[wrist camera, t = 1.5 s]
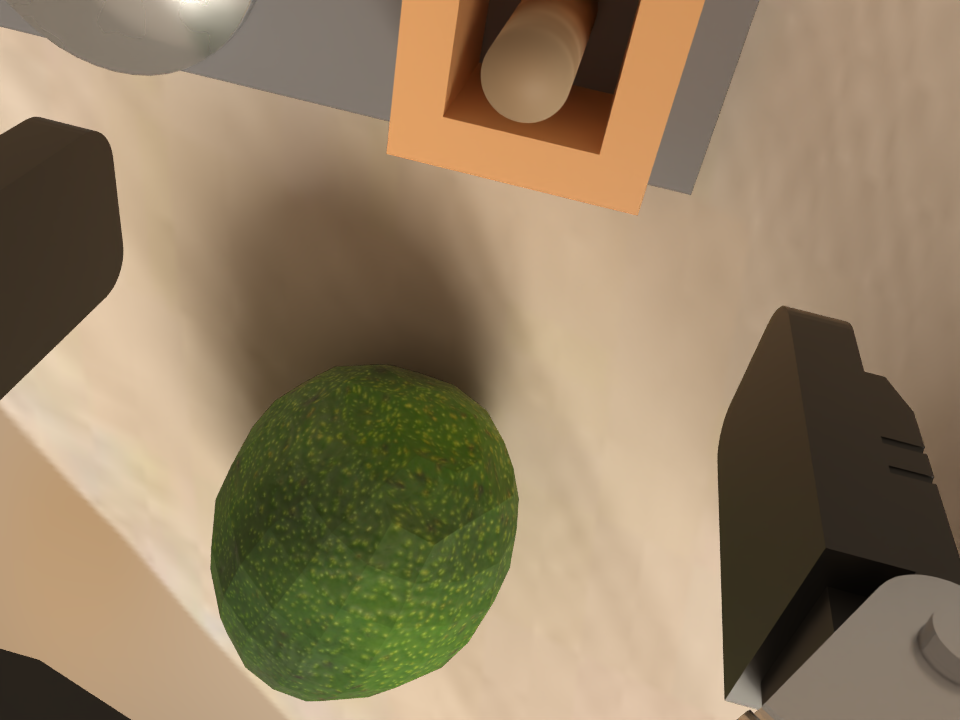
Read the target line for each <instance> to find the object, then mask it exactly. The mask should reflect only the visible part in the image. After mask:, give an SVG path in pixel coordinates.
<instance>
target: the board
mask: <svg viewBox="0 0 960 720" xmlns="http://www.w3.org/2000/svg"><path fill="white" fill-rule="evenodd" d="M638 1H639V0H598V12H597V17H596V20H595V23H594V25H593V28H592V31H591V34H590V37H589V39H588V42H587V45H586V48H585V51H584V53H583V56H582V59H581V62H580V65H579V67H578V70H577V73H576V76H575V79H574V81H573V84H572V85H575V86H580V87H584V88H588V89H592V90H596V91H601V92H605V93H609V94H613V95H614V91H615V87H616V84H617V80H618V76H619V72H620V69H621V65H622V61H623V57H624V54H625V50H626V46H627V42H628V39H629V35H630V31H631V28H632V24H633V20H634V16H635V13H636V9H637V5H638ZM520 2H521V0H489V5H488V12H487V18H486V24H485V30H484V36H483V42H482V48H481V54H480V61H479V63H483V60H484V57H485V55H486V53H487V51H488V50H489V48H490V47H491V45H492V44H493V42H494V41H495V39H496V38H497V36H498V35H499V33H500V32H501V30H502V29H503V27H504V26H505V24H506V23H507V21H508V20H509V18H510V17H511V15H512V14H513V12H514V11H515V9H516V8H517V6H518V5H519V3H520ZM758 3H759V0H705V2H704V5H703V9H702V12H701V15H700V18H699V21H698V25H697V28H696V31H695V34H694V37H693V40H692V44H691V47H690V50H689V53H688V56H687V60H686V63H685V66H684V69H683V72H682V76H681V79H680V82H679V85H678V88H677V91H676V95H675V98H674V101H673V104H672V107H671V111H670V114H669V117H668V120H667V123H666V126H665V130H664V133H663V136H662V139H661V142H660V146H659V149H658V152H657V155H656V158H655V161H654V165H653V168H652V171H651V174H650V177H649V181H648V185H652V186H656V187H660V188H664V189H668V190H673V191H677V192H681V193H685V194H689V195H691V193H692V190H693V188H694V185H695V182H696V179H697V176H698V173H699V171H700V168H701V165H702V162H703V159H704V156H705V154H706V151H707V148H708V145H709V142H710V139H711V136H712V134H713V131H714V128H715V125H716V122H717V119H718V117H719V114H720V111H721V108H722V105H723V102H724V100H725V97H726V94H727V91H728V88H729V85H730V83H731V80H732V77H733V74H734V71H735V68H736V65H737V63H738V60H739V57H740V54H741V51H742V48H743V46H744V43H745V40H746V37H747V34H748V31H749V29H750V26H751V23H752V20H753V17H754V14H755V12H756V9H757V6H758ZM401 7H402V0H256V2H255V4H254V6H253V8H252V10H251V12H250V14H249V15H248V17H247V19H246V21H245V22H244V23H243V25H242V26H241V28H240V29H239V30H238V32H237V33H236V34H235V35H234V36H233V37H232V38H231V39H230V40H229V41H228V42H227V43H226V44H225V45H224V46H223V47H222V48H220V49H219V50H217V51H216V52H215V53H213V54H212V55H210V56H209V57H207V58H206V59H204V60H203V61H201V62H199V63H197V64H195V65H193V66H191V67H189V68H186V69H183V70H180V71H184V72H189V73H193V74H197V75H201V76H205V77H209V78H213V79H217V80H221V81H226V82H230V83H234V84H238V85H242V86H246V87H250V88H254V89H258V90H262V91H267V92H271V93H275V94H279V95H283V96H287V97H291V98H295V99H299V100H303V101H308V102H312V103H316V104H320V105H324V106H328V107H332V108H336V109H340V110H344V111H349V112H353V113H357V114H361V115H365V116H369V117H373V118H377V119H381V120H385V121H390V115H391V105H392V95H393V86H394V76H395V66H396V56H397V46H398V37H399V27H400V17H401ZM0 27H4V28H8V29H12V30H16V31H20V32H25V33H29V34H33V35H37V36H41V37H44V36H43V35H42V34H40V33H39V32H38V31H37V30H36V29H34V28H33V27H32V26H31V25H30V24H29V23H27V22H26V21H25V20H24V19H23V18H22V17H21V16H20V15H19V14H18V13H17V12H16V11H15V10H14V9H13V8H12V7H11V6H10V5H9V4H8V3H7V2H6V0H0ZM45 38H46V37H45Z"/></svg>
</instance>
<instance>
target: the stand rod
mask: <svg viewBox="0 0 960 720" xmlns="http://www.w3.org/2000/svg"><path fill="white" fill-rule="evenodd" d="M597 12H598V0H521V2H520V3H519V5H518V6H517V8H516V9H515V11H514V12H513V14H512V15H511V17H510V18H509V20H508V21H507V23H506V24H505V26H504V27H503V29H502V30H501V32H500V33H499V35H498V36H497V38H496V39H495V41H494V42H493V44H492V45H491V47H490V48H489V50H488V51H487V53H486V55H485V57H484V60H483V63H482V67H481V83H482V88H483V91H484V94H485V96H486V98H487V100H488V101H489V103H490V104H491V105H492V107H493V108H494V109H495V110H496V111H497V112H499V113H500V114H501V115H503V116H504V117H506V118H508V119H510V120H513V121H516V122H521V123H535V122H539V121H542V120H545V119H547V118H549V117H551V116H552V115H554V114H555V113H556V112H557V111H558V110H559V109H560V108H561V107H562V106H563V104H564V103H565V101H566V100H567V97H568V95H569V92H570V90H571V87H572V84H573V81H574V79H575V76H576V73H577V70H578V67H579V65H580V62H581V59H582V56H583V53H584V51H585V48H586V45H587V42H588V39H589V37H590V34H591V31H592V28H593V25H594V23H595V20H596V17H597Z"/></svg>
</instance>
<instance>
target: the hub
mask: <svg viewBox="0 0 960 720" xmlns="http://www.w3.org/2000/svg"><path fill="white" fill-rule="evenodd" d="M6 2H7V3H8V4H9V5H10V6H11V7H12V8H13V9H14V10H15V11H16V12H17V13H18V14H19V15H20V16H21V17H22V18H23V19H24V20H25V21H26V22H27V23H29V24H30V25H31V26H32V27H33V28H34V29H36V30H37V31H38V32H39V33H40V34H42V35H43V36H44V37H46V38H47V39H48V40H50V41H51V42H53V43H54V44H55V45H57V46H58V47H60V48H62V49H63V50H65V51H67V52H69V53H70V54H72V55H74V56H76V57H77V58H80V59H82V60H84V61H86V62H89V63H91V64H93V65H95V66H98V67H102V68H105V69H108V70H111V71H115V72H120V73H126V74H131V75H160V74H169V73H173V72H176V71H180V70H183V69H186V68H189V67H191V66H193V65H195V64H197V63H199V62H201V61H203V60H204V59H206V58H207V57H209V56H210V55H212V54H213V53H215V52H216V51H217V50H219V49H220V48H222V47H223V46H224V45H225V44H226V43H227V42H228V41H229V40H230V39H231V38H232V37H233V36H234V35H235V34H236V33H237V32H238V30H239V29H240V28H241V26H242V25H243V23H244V22H245V21H246V19H247V17H248V15H249V14H250V12H251V10H252V8H253V6H254V4H255V2H256V0H6Z"/></svg>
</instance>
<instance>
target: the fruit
mask: <svg viewBox="0 0 960 720" xmlns="http://www.w3.org/2000/svg"><path fill="white" fill-rule="evenodd" d="M518 501H519V498H518V492H517V486H516V481H515V475H514V469H513V466H512V463H511V460H510V457H509V454H508V452H507V449H506V446H505V443H504V441H503V439H502V437H501V435H500V434H499V432H498V430H497V428H496V426H495V425H494V423H493V421H492V419H491V417H490V416H489V414H488V412H487V410H485V409H484V408H483V407H481V406H480V405H479V404H478V403H476V402H475V401H474V400H472V399H471V398H470V397H469V396H467V395H466V394H465V393H463V392H462V391H461V390H459V389H458V388H457V387H456V386H454V385H453V384H450V383H447V382H444V381H441V380H438V379H435V378H432V377H429V376H427V375H424V374H421V373H417V372H414V371H410V370H407V369H403V368H400V367H396V366H393V365H358V366H337V367H334V368H332V369H330V370H328V371H326V372H324V373H322V374H320V375H318V376H316V377H314V378H312V379H310V380H308V381H306V382H304V383H303V384H301V385H300V386H298V387H296V388H295V389H293V390H292V391H290V392H288V393H287V394H285V395H284V396H282V397H280V398H279V399H277V400H276V401H275V402H274V403H273V404H272V405H271V406H270V407H269V408H268V410H267V411H266V412H265V413H264V414H263V415H262V417H261V418H260V419H259V420H258V421H257V422H256V424H255V425H254V426H253V427H252V429H251V431H250V433H249V435H248V436H247V438H246V440H245V442H244V444H243V446H242V447H241V449H240V451H239V453H238V455H237V456H236V458H235V460H234V462H233V464H232V465H231V467H230V470H229V472H228V474H227V476H226V478H225V480H224V483H223V485H222V487H221V489H220V491H219V493H218V496H217V498H216V502H215V513H214V524H213V535H212V546H211V568H210V569H211V574H212V579H213V584H214V589H215V594H216V599H217V604H218V609H219V614H220V618H221V620H222V622H223V625H224V627H225V630H226V632H227V634H228V636H229V638H230V639H231V641H232V643H233V645H234V647H235V649H236V650H237V652H238V654H239V656H240V658H241V660H242V662H243V664H244V666H245V667H246V668H247V669H248V670H249V671H251V672H252V673H253V674H255V675H256V676H257V677H258V678H260V679H261V680H262V681H263V682H265V683H266V684H267V685H269V686H270V687H271V688H272V689H274V690H277V691H280V692H282V693H285V694H288V695H290V696H293V697H296V698H299V699H301V700H304V701H327V700H339V699H351V698H363V697H370V696H373V695H376V694H379V693H381V692H384V691H387V690H390V689H393V688H396V687H398V686H401V685H403V684H405V683H407V682H410V681H412V680H414V679H417V678H419V677H421V676H423V675H426V674H428V673H430V672H433V671H435V670H437V669H439V668H442V667H443V666H444V665H445V664H446V663H447V662H448V661H449V660H450V659H451V658H452V657H453V656H454V655H455V654H456V653H457V652H458V651H460V650H461V649H462V648H463V647H464V646H465V645H466V644H467V643H468V642H469V640H470V639H471V637H472V635H473V634H474V632H475V631H476V629H477V628H478V626H479V624H480V623H481V621H482V620H483V618H484V616H485V615H486V613H487V612H488V610H489V609H490V607H491V605H492V604H493V602H494V600H495V598H496V596H497V594H498V592H499V590H500V587H501V585H502V583H503V581H504V579H505V577H506V575H507V572H508V570H509V568H510V563H511V557H512V552H513V546H514V541H515V535H516V529H517V515H518Z"/></svg>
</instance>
